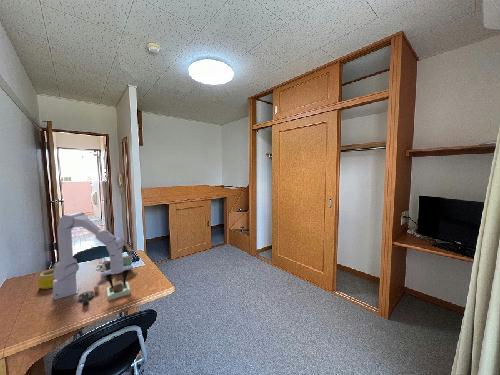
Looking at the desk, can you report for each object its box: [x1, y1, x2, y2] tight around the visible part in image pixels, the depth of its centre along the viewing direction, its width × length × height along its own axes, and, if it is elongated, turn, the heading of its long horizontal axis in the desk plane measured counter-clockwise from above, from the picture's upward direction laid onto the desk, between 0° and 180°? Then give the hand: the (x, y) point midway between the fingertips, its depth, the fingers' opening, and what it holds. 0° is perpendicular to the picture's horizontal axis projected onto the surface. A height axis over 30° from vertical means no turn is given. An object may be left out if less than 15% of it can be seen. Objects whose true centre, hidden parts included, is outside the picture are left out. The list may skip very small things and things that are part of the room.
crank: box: [77, 290, 95, 306], centre depth 109 cm, size 12×6×5 cm, turn 36°
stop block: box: [112, 280, 123, 293], centre depth 115 cm, size 4×4×5 cm
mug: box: [38, 266, 56, 290], centre depth 123 cm, size 13×11×12 cm
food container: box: [114, 253, 133, 276], centre depth 137 cm, size 12×6×10 cm, turn 143°
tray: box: [106, 281, 131, 301], centre depth 115 cm, size 10×10×2 cm
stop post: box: [93, 284, 100, 295], centre depth 116 cm, size 2×2×4 cm
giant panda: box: [95, 257, 111, 273], centre depth 135 cm, size 15×6×10 cm, turn 174°
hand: (118, 285), depth 115 cm, fingers open, 5 cm apart
